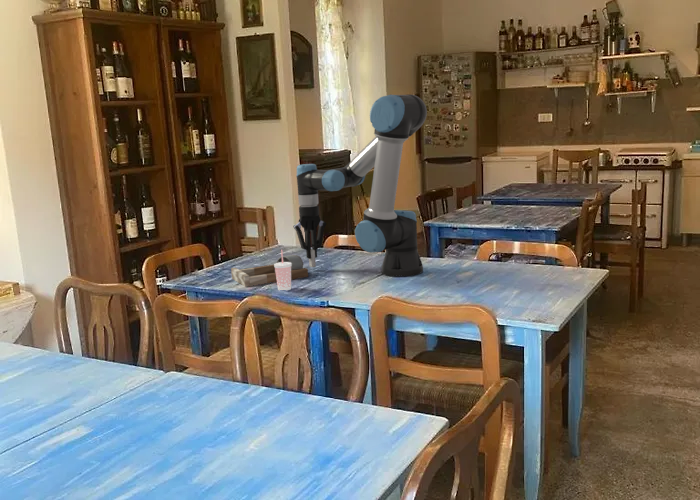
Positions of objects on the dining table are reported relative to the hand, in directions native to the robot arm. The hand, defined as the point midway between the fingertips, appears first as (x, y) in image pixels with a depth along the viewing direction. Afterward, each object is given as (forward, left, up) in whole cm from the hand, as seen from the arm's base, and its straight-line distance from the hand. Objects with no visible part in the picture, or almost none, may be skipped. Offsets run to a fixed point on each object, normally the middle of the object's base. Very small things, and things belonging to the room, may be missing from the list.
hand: (312, 266), depth 274 cm
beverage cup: (-20, +19, -2) cm, 28 cm away
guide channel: (0, +17, -2) cm, 17 cm away
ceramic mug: (0, +10, -2) cm, 11 cm away
